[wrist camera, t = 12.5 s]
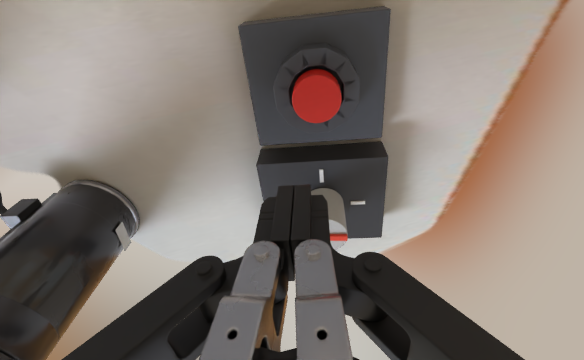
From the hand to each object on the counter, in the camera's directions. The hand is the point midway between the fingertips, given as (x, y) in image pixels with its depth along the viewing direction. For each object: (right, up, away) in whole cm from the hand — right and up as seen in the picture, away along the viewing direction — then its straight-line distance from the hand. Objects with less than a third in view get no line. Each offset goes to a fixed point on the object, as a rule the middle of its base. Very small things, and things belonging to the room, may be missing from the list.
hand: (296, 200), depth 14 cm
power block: (+2, +10, +12) cm, 16 cm away
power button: (+2, +8, +9) cm, 12 cm away
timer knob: (+3, -1, +16) cm, 16 cm away
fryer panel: (+3, 0, +18) cm, 19 cm away
